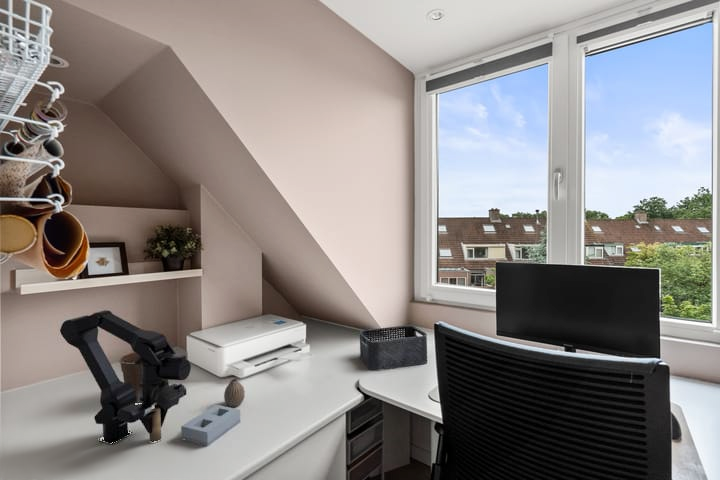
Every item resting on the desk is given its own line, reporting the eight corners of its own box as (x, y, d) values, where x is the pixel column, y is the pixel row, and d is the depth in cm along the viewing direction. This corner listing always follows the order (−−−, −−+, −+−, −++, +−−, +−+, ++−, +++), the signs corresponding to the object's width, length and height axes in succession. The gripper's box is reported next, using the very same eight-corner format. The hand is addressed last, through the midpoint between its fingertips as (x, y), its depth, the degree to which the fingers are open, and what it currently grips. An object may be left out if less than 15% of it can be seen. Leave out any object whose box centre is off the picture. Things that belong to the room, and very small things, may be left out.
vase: (237, 398, 134) (237, 374, 134) (248, 403, 130) (248, 379, 129) (220, 405, 129) (219, 380, 128) (231, 411, 124) (230, 385, 124)
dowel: (147, 442, 107) (146, 411, 106) (156, 436, 109) (155, 407, 109) (154, 444, 106) (153, 413, 105) (163, 438, 108) (162, 408, 108)
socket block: (181, 439, 108) (181, 426, 108) (216, 416, 121) (215, 404, 121) (207, 446, 104) (207, 432, 104) (240, 421, 117) (240, 409, 117)
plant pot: (171, 385, 146) (170, 345, 146) (169, 402, 132) (168, 358, 131) (124, 393, 139) (122, 352, 139) (116, 412, 125) (114, 366, 124)
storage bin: (370, 372, 157) (370, 341, 157) (358, 357, 176) (357, 329, 175) (430, 364, 165) (429, 335, 165) (412, 350, 184) (412, 324, 183)
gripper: (144, 395, 95) (145, 454, 96) (199, 370, 113) (200, 419, 113) (115, 389, 99) (116, 445, 100) (172, 365, 117) (173, 413, 117)
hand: (155, 430), depth 107 cm, fingers closed on dowel, 3 cm apart
